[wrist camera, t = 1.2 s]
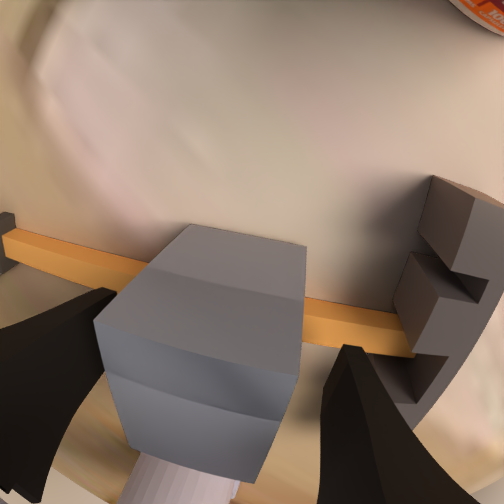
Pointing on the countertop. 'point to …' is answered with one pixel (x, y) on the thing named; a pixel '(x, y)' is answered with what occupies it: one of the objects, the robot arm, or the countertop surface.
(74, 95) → the countertop surface
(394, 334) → the hammer
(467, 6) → the pill bottle
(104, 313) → the sleeve
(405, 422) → the robot arm
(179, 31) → the countertop surface
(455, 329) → the comb
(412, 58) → the countertop surface
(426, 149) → the countertop surface
